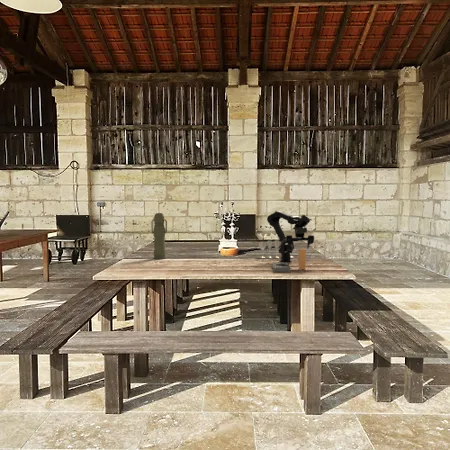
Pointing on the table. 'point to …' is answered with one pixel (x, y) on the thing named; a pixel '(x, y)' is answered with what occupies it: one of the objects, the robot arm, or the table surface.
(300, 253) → the peg
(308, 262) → the table surface
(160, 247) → the thermos
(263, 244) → the goblet set
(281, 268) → the grey flat block
